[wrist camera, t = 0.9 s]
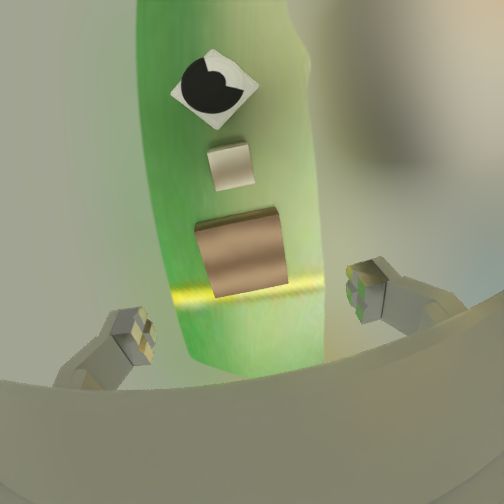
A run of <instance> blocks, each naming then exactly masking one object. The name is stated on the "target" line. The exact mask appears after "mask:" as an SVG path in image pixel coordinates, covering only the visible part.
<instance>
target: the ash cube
mask: <svg viewBox="0 0 504 504" xmlns="http://www.w3.org/2000/svg"><path fill="white" fill-rule="evenodd" d="M207 156H208V160H209V164H210V168H211V173H212V177H213V181H214V185H215V189H216V192H217V191H221V190H226V189H230V188H235V187H240V186H245V185H250V184H255V178H254V173H253V167H252V162H251V157H250V152H249V147H248V144H247V142H246V141H241V142H236V143H231V144H227V145H222V146H217V147H213V148H209V150H208V152H207Z"/></svg>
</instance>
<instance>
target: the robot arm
mask: <svg viewBox="0 0 504 504" xmlns="http://www.w3.org/2000/svg"><path fill="white" fill-rule="evenodd" d="M346 275H347V277H348V278H349V280H348V282H347V283H346V292H347V298H348V300H349V303H350V304H351V306H352V307H355V308H356V315H357V317H358V318H359V320H360V322H361V323H362V324H365V323H369V322H373V321H376V320H380V319H381V320H382V321H384V322H386V323H388V324H389V325H391V326H392V327H394V328H396V329H397V330H399V331H401V332H402V333H404V334H405V335H407V337H404V338H401V339H398V340H396V341H393V342H390V343H387V344H385V345H382V346H379V347H376V348H373V349H370V350H367V351H364V352H361V353H358V354H355V355H351V356H348V357H344V358H341V359H338V360H334V361H330V362H326V363H322V364H319V365H315V366H311V367H306V368H302V369H298V370H293V371H289V372H284V373H279V374H274V375H269V376H264V377H259V378H253V379H247V380H241V381H235V382H228V383H221V384H213V385H204V386H195V387H184V388H172V389H155V390H117V388H118V387H119V385H120V384H121V383H122V381H123V380H124V379H125V378H126V376H127V375H128V374H129V372H130V371H131V370H132V369H133V366H140V365H150V364H151V363H152V358H153V354H154V351H153V350H152V347H153V346H154V345H155V344H156V340H157V335H156V330H155V327H154V325H153V323H152V322H151V321H150V320H148V319H147V316H148V313H147V311H146V310H145V308H144V307H134V308H126V309H119V310H113V311H111V312H109V315H108V317H107V319H106V321H105V323H104V325H103V328H102V330H101V332H100V334H99V336H98V337H95V338H94V339H93V340H91V341H90V342H89V343H88V344H87V345H86V346H85V347H83V349H81V350H80V351H79V352H78V353H77V354H75V356H73V357H72V358H71V359H70V360H69V361H68V362H67V363H65V364H64V365H63V366H62V367H61V368H60V370H59V372H58V375H57V377H56V379H55V382H54V384H53V387H47V386H38V385H31V384H25V383H18V382H12V381H7V380H0V504H504V290H503V291H501V292H499V293H498V294H496V295H494V296H492V297H490V298H489V299H487V300H485V301H483V302H481V303H479V304H478V305H476V306H474V307H472V308H470V309H467V308H466V307H465V306H464V305H463V303H462V302H461V301H460V300H459V299H458V298H457V297H456V296H455V295H454V294H453V293H451V292H448V291H445V290H443V289H439V288H437V287H434V286H431V285H429V284H426V283H423V282H420V281H417V280H414V279H411V278H409V277H406V276H404V277H401V276H400V275H399V274H398V273H397V271H396V270H395V269H394V268H393V267H392V266H391V265H390V264H389V263H388V262H387V261H386V260H385V259H384V258H383V257H381V256H380V257H377V258H373V259H370V260H367V261H364V262H359V263H356V264H351V265H348V266H347V269H346Z"/></svg>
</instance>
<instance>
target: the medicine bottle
mask: <svg viewBox="0 0 504 504" xmlns="http://www.w3.org/2000/svg"><path fill="white" fill-rule="evenodd" d="M258 88H259V84H258V83H257V82H256V81H254V80H253V79H252V78H251V77H250V76H248V75H247V74H246V73H245V72H243V71H242V70H241V69H240V67H239V66H238V65H237V64H236V63H235V62H234V61H232V60H230V59H228V58H226V57H224V56H223V55H221V54H220V53H219V52H217V51H216V50H214V49H211V50H210V51H209V52H208V53H207V54H206V55H205V56H204V57H203V58H200V59H198V60H196V61H195V62H193V63H192V64H191V65H190V66H189V67H188V68H187V69H186V71H185V73H184V74H183V77H182V80H181V81H180V82H179V83H178V84H177V86H176V87H175V88H174V89H173V90H172V91H171V96H172V97H174V98H175V99H176V100H178V101H179V102H180V103H182V104H183V105H184V106H186V107H187V108H188V109H190V110H191V111H192V112H194V113H195V114H196V115H197V116H199V117H200V118H201V119H203V120H204V121H205V122H206V123H208V124H209V125H210V126H211V127H213V128H214V129H216V130H218V129H220V128H221V126H222V125H223V124H224V123H225V122H226V121H227V120H228V119H229V118H230V117H231V116H232V115H233V113H234V112H235V111H236V110H237V109H238V108H239V107H240V106H241V105H242V104H243V103H244V102H245V101H246V100H247V99H248V98H249V97H250V96H251V95H252V94H253V93H254V92H255V91H256V90H257V89H258Z"/></svg>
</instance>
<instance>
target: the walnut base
mask: <svg viewBox="0 0 504 504" xmlns="http://www.w3.org/2000/svg"><path fill="white" fill-rule="evenodd" d="M194 233H195V236H196V239H197V243H198V246H199V249H200V252H201V256H202V259H203V262H204V265H205V268H206V271H207V274H208V278H209V281H210V284H211V287H212V290H213V293H214V296H215V298H219V297H224V296H229V295H234V294H240V293H245V292H250V291H255V290H259V289H264V288H269V287H274V286H279V285H283V284H288V275H287V268H286V260H285V253H284V246H283V239H282V232H281V225H280V219H279V214H278V212H277V210H276V208H275V207H272V208H267V209H262V210H257V211H252V212H247V213H243V214H238V215H233V216H228V217H224V218H219V219H214V220H210V221H205V222H201V223H196V226H195V231H194Z"/></svg>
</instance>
